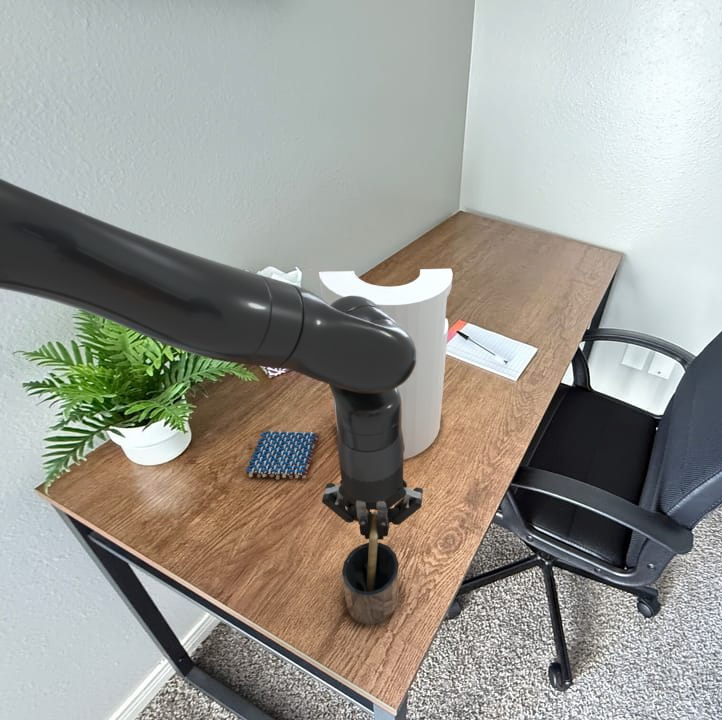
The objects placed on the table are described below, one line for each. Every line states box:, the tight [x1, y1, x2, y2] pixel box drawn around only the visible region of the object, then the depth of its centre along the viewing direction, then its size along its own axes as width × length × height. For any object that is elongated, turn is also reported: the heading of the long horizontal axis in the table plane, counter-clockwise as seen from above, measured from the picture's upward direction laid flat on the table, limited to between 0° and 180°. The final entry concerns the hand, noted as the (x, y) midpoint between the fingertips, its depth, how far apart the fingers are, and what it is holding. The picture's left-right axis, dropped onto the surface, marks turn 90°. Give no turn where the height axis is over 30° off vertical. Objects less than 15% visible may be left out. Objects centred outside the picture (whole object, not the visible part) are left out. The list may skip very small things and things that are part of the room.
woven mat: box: [245, 430, 319, 481], centre depth 86 cm, size 10×11×2 cm
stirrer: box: [366, 511, 379, 592], centre depth 65 cm, size 9×1×13 cm, turn 2°
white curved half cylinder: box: [318, 268, 454, 461], centre depth 82 cm, size 35×11×21 cm
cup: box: [341, 542, 400, 626], centre depth 66 cm, size 7×7×9 cm
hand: (375, 533), depth 66 cm, fingers closed on stirrer, 1 cm apart
